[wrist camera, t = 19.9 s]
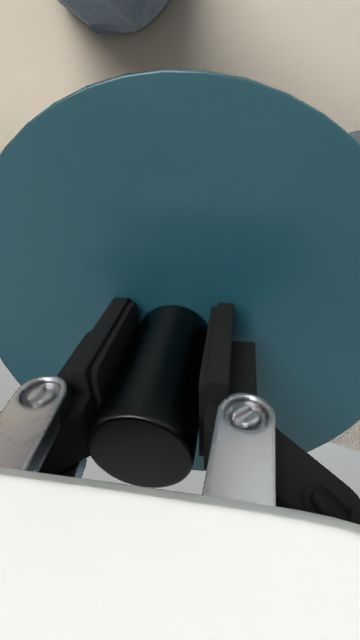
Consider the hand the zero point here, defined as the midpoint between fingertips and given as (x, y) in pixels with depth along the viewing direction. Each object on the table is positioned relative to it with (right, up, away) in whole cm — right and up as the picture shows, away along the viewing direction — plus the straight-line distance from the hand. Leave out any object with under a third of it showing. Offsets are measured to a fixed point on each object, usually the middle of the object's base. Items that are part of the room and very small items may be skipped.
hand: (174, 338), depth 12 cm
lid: (0, 0, +1) cm, 1 cm away
